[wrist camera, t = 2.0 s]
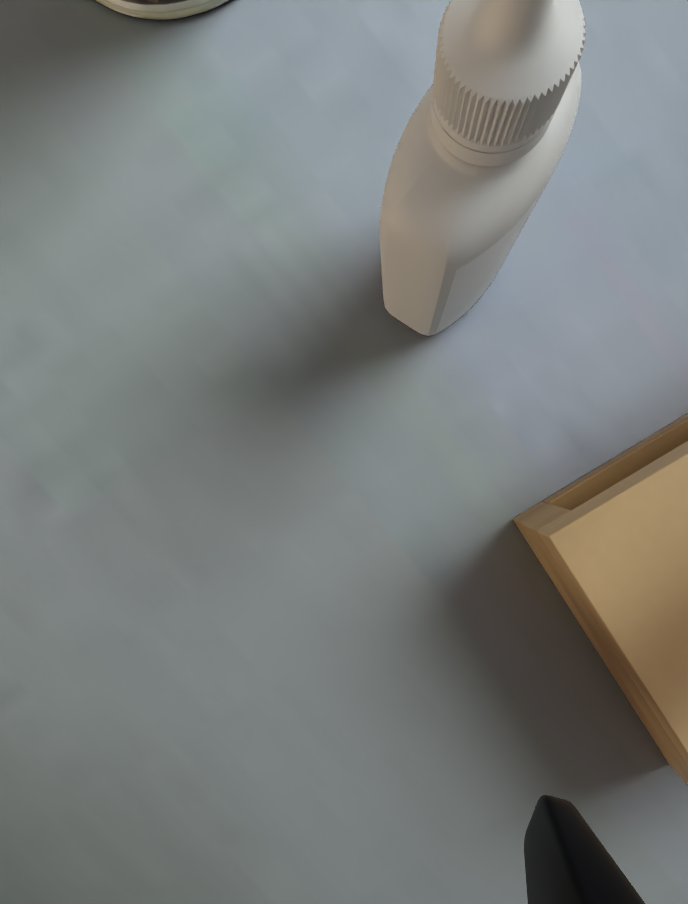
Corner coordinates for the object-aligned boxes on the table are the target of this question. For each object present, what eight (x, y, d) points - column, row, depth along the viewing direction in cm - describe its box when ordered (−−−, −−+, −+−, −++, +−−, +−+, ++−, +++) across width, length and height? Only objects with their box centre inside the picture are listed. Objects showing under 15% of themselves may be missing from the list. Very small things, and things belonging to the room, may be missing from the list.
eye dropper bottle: (547, 279, 19) (799, -18, 7) (405, 352, 20) (424, 185, 8) (490, 173, 19) (645, -284, 7) (352, 247, 20) (288, -73, 8)
